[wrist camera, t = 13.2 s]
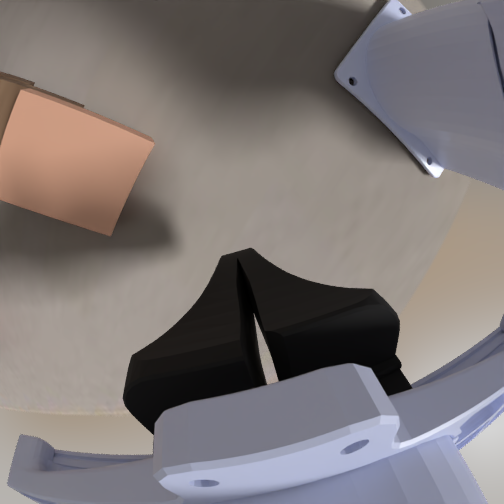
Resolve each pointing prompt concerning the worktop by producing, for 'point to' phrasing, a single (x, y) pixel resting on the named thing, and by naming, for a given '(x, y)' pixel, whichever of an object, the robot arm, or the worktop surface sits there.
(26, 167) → the domino
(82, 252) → the worktop surface
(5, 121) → the domino
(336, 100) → the worktop surface
